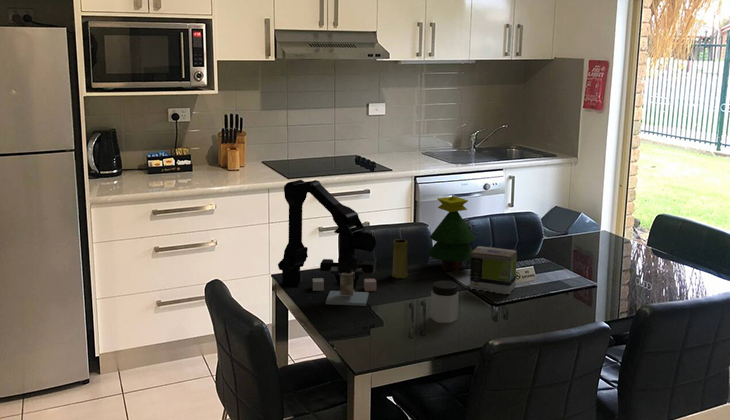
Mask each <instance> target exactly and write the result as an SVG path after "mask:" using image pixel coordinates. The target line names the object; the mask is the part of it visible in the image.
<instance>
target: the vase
mask: <svg viewBox="0 0 730 420" xmlns="http://www.w3.org/2000/svg"><path fill="white" fill-rule="evenodd" d="M392 251H393V254H392V255H393V256H392V272H391V273H392V274H391V276H392V277H393V278H394V277H395V279H399V278H402V279H406V278H408V276H409V274H408V240H406V239H402V238H401V239H400V238H398V239H394V240H393V250H392Z"/></svg>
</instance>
